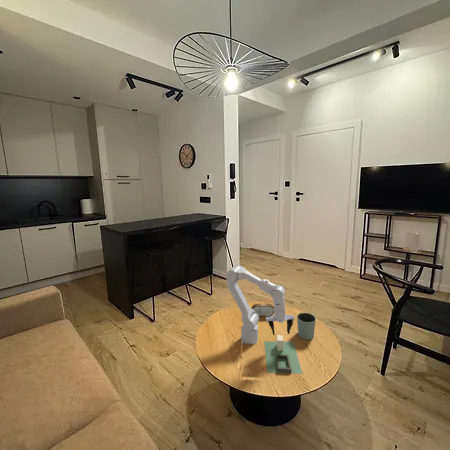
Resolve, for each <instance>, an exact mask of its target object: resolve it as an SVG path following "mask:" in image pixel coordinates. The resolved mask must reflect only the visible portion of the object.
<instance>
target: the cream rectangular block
mask: <svg viewBox="0 0 450 450" xmlns="http://www.w3.org/2000/svg"><path fill="white" fill-rule="evenodd" d="M276 342H277V350H278V351H283V350H284V342H285V341H284V336H283V334H282V335H280V334H277V335H276Z"/></svg>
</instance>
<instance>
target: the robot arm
mask: <svg viewBox="0 0 450 450" xmlns="http://www.w3.org/2000/svg"><path fill="white" fill-rule="evenodd" d="M224 277H225V279H226V287H227V288H228V290H229V292H230V293H231V295H232V298H233V299H234V301H235V303H236V305H237V308H239V310H240V312H241V322H242V326H241V331H240V333H241V335H240V339H241V344H249V345H255V344H257V343H258V341H259V325H258V322H259V321H260V316H258V314H257V313H256V312H255V311H254V310H253V309H252V307H250V305H249V304H248V301H247V299H246V298H245V296H244V294H243V292H242V290H241V288H240V286H239V283H238V282H239V281H240V280H241V281H242V280H246V281H248V282H250V283H252V284H254V285H257V286H258V288H259V290H261V291H262V292H265V293H267V294H268V295H270V296H271V298H272V299H273V306H274V314H273V315H272V316H265V322H266V323H268V326H269V327H270V329H271V331H272V334H273V336H275V323H274V322H277V323H280V324H283V323H284V322H285V321H286V331H287V335H290V333H291V328H292V327H293V325H294V321H295V318H296V317H295V315H290V314H286V302H285V293H286V289H285V287H284V286H283V285H282V284H275V283H273V282H270V280H269V279H268V278H267V279H265V278H264V279H261V278H260V277H258V276H256V275H255V274H253V273H251V272H250V271H248V270H247V269H246V268H245V267H244V266H242V265H239V264H235V265H233V267H232V268H230V269H229V270H228V271H227V272H226V273H225V276H224Z"/></svg>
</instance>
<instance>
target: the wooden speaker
mask: <svg viewBox="0 0 450 450" xmlns="http://www.w3.org/2000/svg"><path fill="white" fill-rule="evenodd" d="M251 309H253V310H254V311H255V312H256V313H257V314H258V316H259V317H270V316H274V304H271V303H255V304H253V305H252V306H251Z"/></svg>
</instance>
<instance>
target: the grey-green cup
mask: <svg viewBox="0 0 450 450" xmlns="http://www.w3.org/2000/svg"><path fill="white" fill-rule="evenodd" d="M296 320H297V321H296V322H297V335H298V337H300V338H301V339H304V340H311V339H313V338H314V337H315V327H316V322H317V318H316V316H315V315H314V314H312V313H309V312H299V313H298V314H297V315H296Z"/></svg>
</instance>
